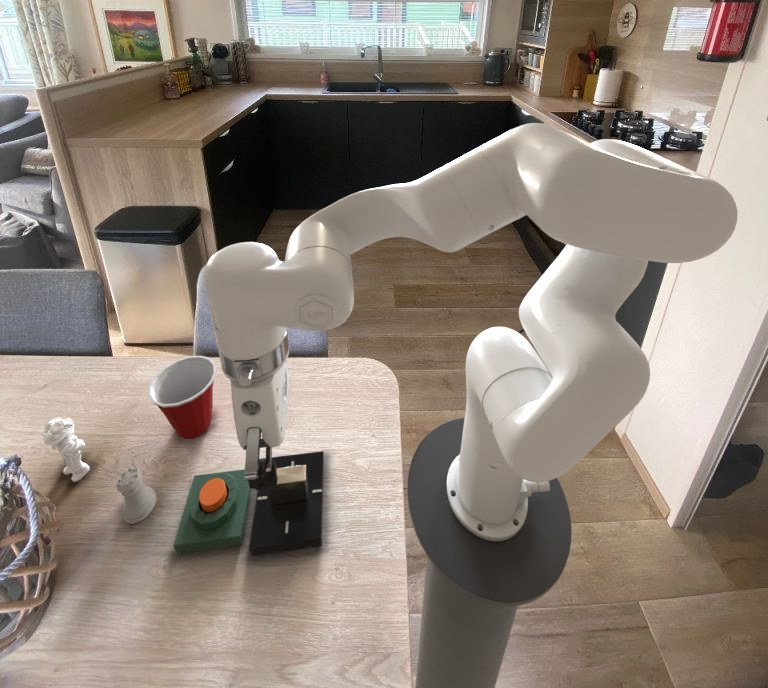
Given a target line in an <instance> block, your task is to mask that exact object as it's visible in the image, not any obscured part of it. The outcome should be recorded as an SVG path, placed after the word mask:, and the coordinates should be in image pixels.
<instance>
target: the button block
mask: <svg viewBox="0 0 768 688" xmlns="http://www.w3.org/2000/svg"><path fill="white" fill-rule="evenodd" d="M244 471H245V468H243V469H236V470H228V471H221V472H212V473H203V474H196V475H195V474H194V476H193V479H192V483H191V486H190V489H189V492H188V496H187V499H186V502H185V506H184V509H183V513H182V516H181V518H180V521H179V526H178V529H177V533H176V535H175V539H174V542H173V548H174V552H175V554H176V555H181V554H187V553H194V552H200V551H208V550H214V549H220V548H229V547H234V546H241V545H243V540H244V535H245V529H246V524H247V519H248V518H247V517H248V511H249V505H250V500H251V494H252V489H251V488H250V487H249V482H248V480H245V479H244ZM215 478H219V479H222V480H223V481H224V483H225V486H226V490H227V497H226V500H225V502H224V504H223V505H222V506H221V507H220V508H219V509H218V510H216V511H214V512H210V513H209V512H205V511H204V510H203V509H202V507H201V504H200V500H199V494H200V491H201V489H202V487H203V486H204V485H205V484H206V483H207V482H208V481H210V480H212V479H215Z"/></svg>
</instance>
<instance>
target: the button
mask: <svg viewBox="0 0 768 688" xmlns="http://www.w3.org/2000/svg"><path fill="white" fill-rule="evenodd" d="M226 497H227V490H226V486H225V483H224V481H223V480H222V479H219V478H215V479H212V480H210V481H208V482H207V483H206V484H205V485H204V486H203V487H202V489H201V491H200V494H199V500H200V504H201V507H202V509H203V510H204V511H205V512H209V513H210V512H214V511H216V510H218V509H219V508H220V507H221V506H222V505H223V504H224V502H225V500H226Z"/></svg>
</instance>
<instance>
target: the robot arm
mask: <svg viewBox="0 0 768 688" xmlns="http://www.w3.org/2000/svg"><path fill="white" fill-rule="evenodd" d="M738 213H739V211H738V207H737V203H736V201H735V199H734V197H733V195H732V194H731V193H730V192H729V190H727V188H726V187H725V186H724V185H722V184H721V183H719V182H718V181H716V180H714V179H713V178H710V177H709V176H706V175H704V174H702V173H699V172H697V171H695V170H692V169H690V168H688V167H685V166H683V165H681V164H679V163H676V162H674V161H671V160H670V159H667V158H665V157H663V156H661V155H658V154H657V153H654V152H652V151H649V150H647V149H645V148H642V147H640V146H638V145H635V144H632V143H630V142H628V141H627V142H626V141H623V140H619V139H613V138H611V139H610V138H602V139H598V140H595V141H592V142H590V143H588V142H586V141H584V140H582V139H581V138H579V137H577V136H575V135H573V134H571V133H568V132H566V131H564V130H562V129H560V128H558V127H555V126H553V125H550V124H547V123H541V122H531V123H530V122H529V123H525V124H521V125H519V126H516V127H514V128H511V129H509V130H508V131H506V132H504V133H502V134H501V135H499V136H497V137H495V138H493V139H491V140H489V141H487V142H486V143H483V144H482V145H480V146H478V147H476V148H474V149H472V150H471V151H469V152H467V153H464V154H462V156H460V157H458V158H456V159H454V160H452V161H451V162H449V163H446V164H444V165H443V166H441V167H439V168H436V169H435V170H433V171H432V172H429V173H428V174H426V175H423V176H422V177H420V178H418V179H416V180H413V181H410V182H405V183H394V184H388V185H384V186H379V187H373V188H368V189H364V190H363V189H362V190H360V191H357V192H354V193H351V194H349V195H347V196H345V197H342V198H341V199H338V200H337V201H335V202H333V203H331V204H330V205H329V204H328V206H326V207H324V208H321V209H320V210H318V211H316V212H315V213H313V214H312V215H310V216H309V217H307V218H306V219H304V220H303V221H302V222H300V224H299V225H298V226H297V227H296V228H295V229H294V230H293V232H292V233H291V234H290V236H289V240H288V243H287V245H286V246H287V247H286V252H285V259H284V261H282V260H280V259H279V256H278V254H277V252H276V251H275V250H274V249H273V248H271V247H270V246H269V245H267V244H264V243H262V242H261V243H260V242H255V241H243V242H237V243H233V244H230V245H227V246H225V247H223V248H221V249H220V250H218V251H217V252H215V253H214V254H213V255H212V256H210V258H209V259H208V261H207V262H206V264H205V266H204V270H203V283H204V288H205V293H206V298H207V303H208V307H209V313H210V318H211V323H212V327H213V333H214V338H215V341H216V346H217V352H218V357H219V361H220V365H221V370H222V373H223V374H224V376H225V377H226V378H227V379H229V380H230V390H231V404H232V411H233V419H234V426H235V432H236V437H237V441H238V444H239V446H240V448H241V449H242V450H243V451H245V462H244V469H245V471H244V479H245V480H248V482H249V487H250V488H251V490H254V489H255V490H256V491H258V490H264V489H267V488H268V487H270V486H275V485H277V480H278V478H277V471H276V465H275V460H273V459H272V457H273V448H276V447H280V446H281V445H282V444H283V441H284V439H285V434H286V427H287V416H288V409H289V399H290V389H291V388H290V387H291V376H290V368H289V363H288V357H289V356H290V355H289V354H290V344H289V336H288V335H289V334H288V329H294V330H300V331H309V332H324V331H329V330H333V329H337V328H338V327H340V326H342V325H343V324H344V323H345V322H347V320H348V319H349V318H350V316H351V314H352V312H353V309H354V306H355V305H354V304H355V288H354V279H353V267H352V258H351V255H353V254H355V253H357V252H358V251H361V250H362V249H364V248H366V247H368V246H370V245H372V244H375V243H376V242H379V241H382V240H386V239H391V238H406V239H407V238H408V239H412V240H415V241H418V242H420V243H423V244H425V245H428V246H430V247H432V248H434V249H436V250H438V251H441V252H442V253H443V252H444V253H455V252H458V251H461V250H462V249H464V248H466V247H467V246H469V245H471V244H473V243H476V241H479V240H481V239H483V238H484V237H486V236H489V235H490V234H492V233H494V232H496V231H498V230H500V229H502V228H504V227H506V226H508V225H510V224H512V223H513V222H515V221H518V220H520V219H522V218H523V217H525V216H527V217H528V218H529V220H531V221H532V222H533V223H534V224H535V225H536V226H537V227H538V228H539V229H540V230H541V231H542V232H543V233H545V234H546V235H547V236H548V237H550V238H552V239H554V240H555V241H557V242H560V243H562V244H564V245H565V246H564V248H563V249H562V250H561V252H560V253H559V255H557V256H556V258H555V259H554V260H553V262H552V263H551V264H550V265H549V266H548V268H547V269H546V270H545V271H544V272H543V273H542V275H541V276H540V277H539V279H537V281H536V282H535V284H534V285H533V286H532V287H531V288H530V290H529V291H528V292H527V293H526V295H525V296H524V298H523V299H522V301H521V303H520V304H519V308H518V318H519V321H520V324H521V326H522V328H523V330H524V332H525V334H526V335H527V337H528V339H529V340H528V339H526V337H524V336H523V334H521V333H520V332H518V331H516V330H515V329H513V328H510V327H506V326H492V327H489V328H487V329H485V330H483V331H482V332H480V333H478V335H476V337H475V338H473V340H472V342H471V343H470V346H469V348H468V349H467V354H466V359H465V385H466V386H465V388H466V391H465V392H466V404H465V413H464V418H465V419H464V427H463V435H462V442H461V450H460V455H459V456H457V457H456V458H455V460H454V461H453V462H452V464H451V466H450V468H449V472H448V476H447V494H448V500H449V502H450V505H451V508H452V510H453V512H454V514H455V515H456V517H457V518H458V520H459V521H460V522H461V524H462V525H463V526H464V527H465V528H467V529H468V530H469V531H470V532H472V533H473V534H474V535H476V536H478V537H480V538H483V539H485V540H490V541H504V540H507V539H510V538H511V537H513V536H515V535H516V534H517V533H518V532H519V531H520V530H521V528H522V526H523V524H524V522H525V519H526V516H527V510H528V498H527V497H530V496H531V494H532V493H535V492H538V493H539V492H547V491H550V485H549V482H548V481H550V480H553V479H555V478H557V479H558V478H559V477H561V476H563V475H564V474H566V473H567V472H569V471H570V470H571V469H572V468H574V467H575V466H576V465H577V464H578V463H579V462H580V461H581V460H582V459H583V458H585V456H587V455H588V454H589V453H590V452H591V451H592V450H593V449H594V448H595V447H596V446H597V445H598V444H599V443H601V441H602V440H603V439H604V438H605V437H607V435H609V434H610V433H611V431H613V430H614V429H615V428H616V427H617V426H618V425H619V424H620V423H621V422H622V421H623V420H624V419H625V418H626V417H627V416H628V415H630V413H631V412H632V411H633V410H634V409H635V408H636V407H637V406H638V405H639V404H640V402H641V401H642V400H643V398H644V396H645V395H646V392H647V390H648V387H649V384H650V379H651V368H650V364H649V363H650V362H649V361H648V358H647V356H646V354H645V353H644V351H643V350H642V348H641V346H640V345H639V344H638V343H637V341H636V340H635V339H634V338H633V337H632V336H631V335H630V334H629V332H627V331H626V330H625V328H624V327H623V326H622V325H621V324H620V323H619V322H618V321H617V320H616V319H617V318H616V314H617V312H618V310H619V309H620V308H621V306H622V305H624V303H625V302H626V300H627V299H628V298H629V296H630V295H631V294H632V293H633V292H634V290H636V288H637V287H638V286H639V285H640V283H641V282H642V280H643V278H644V276H645V273H646V270H647V268H648V264H649V261H650V262H656V263H662V264H683V263H690V262H695V261H698V260H702V259H704V258H706V257H708V256H711V255H712V254H714V253H715V252H717V251H719V250H720V249H721V248H722V247H723V246H724V245H726V243H728V241H729V240H730V239H731V237H732V236H733V233H734V232H735V230H736V226H737V223H738ZM529 341H530V342H531V343H530V342H529ZM261 448H265V457H262V458H260V453H261ZM452 495H453V496H454V497H453V496H452ZM514 524H516V526H515V525H514ZM478 529H480V530H481V531H479V530H478Z"/></svg>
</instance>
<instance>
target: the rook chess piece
mask: <svg viewBox="0 0 768 688" xmlns="http://www.w3.org/2000/svg"><path fill="white" fill-rule="evenodd" d="M120 475H121V476H119V477H118V478H117V481H116V485H115V486H116V491H118V492H119V493H120V494H121V496H122V497H124V501H123V505H122V509H121V512H122V516H123V517H122V518H123V520H124V521H125V522H126V523H127V524H136V523H139V522H141V521H143V520H144V519H146V518H147V517H148V516H149V515H150V514H151V512H152V511H153V510H154V508H155V505H156V503H157V495H156V492H155V491H154V489H153V488H152V487H151V486H147V485H145V484H144V483H143V482H144V479H143V472H142V469H141V468H140V467H136V466H134V467H133V466H128V467H127V470H126V471H125V470H123V471H122V472H121V473H120Z"/></svg>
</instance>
